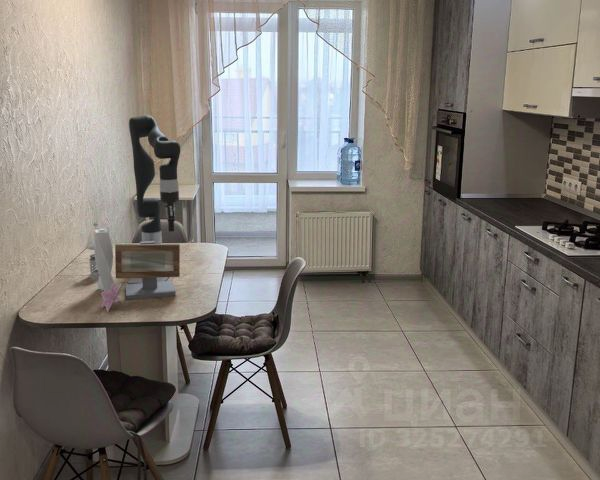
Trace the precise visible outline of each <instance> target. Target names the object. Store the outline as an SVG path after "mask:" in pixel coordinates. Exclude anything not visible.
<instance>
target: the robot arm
mask: <svg viewBox="0 0 600 480" xmlns="http://www.w3.org/2000/svg"><path fill="white" fill-rule="evenodd" d="M128 128H129V136H130V140H131V141H130V142H131V146H132V147H131V148H132V158H133V159H132V161H133V174H134V181H135V186H136V187H135V190H136V211H137V215H138V217H139V218H143V219H144V218H145V219H146V218H153V219H152V220H151V221H148V222H147V223H144V224H143V225H141V227H140V228H141V229H140V230H141V242H144V241H155V244H163V238H162V223H161V202H162V203H166V205H165V206H164V208H165V209H164V210H165V216H166V219H167V224H168V225H167V226H168V232H169V233H170V232H174V231H175V218H176V205H175V204H174V203H177V202H179V201H180V192H179V190H180V188H179V181H178V165H179V159H180V156H181V145H180V143H179V142H178V141H176V140H169V139H168V137H167V136H166V135H165V134H164V133H163V132H162V131H161V129H160V127H159V124H158V123H157V121H156V120H155V118H154V117H153V116H151V115H147V114H146V115H139V116H133V117H131V118H129V121H128ZM141 138H147V141H148V143H149V146H151V147H152V148H153V152H154V153H153V154H154V156H155V158H157V159H161V160H162V159H163V160H164V159H165V160H166V159H170V160H169V161H168V162H167V163H164V164H161V165H160V166H159V169H158V170H159V196H160V199H159V198H157V197H145V193H146V192H147V189H148V188H149V186H151V184H152V182H153V180H154V178H155V175H156V170H155V169H156V166H155V161H154V159H153V158H152V156H151V155H150V154H149V153H148V152H147V151H146V150H145V148H144V147H143V145H142V143H141V142H140V139H141ZM144 197H145V198H144Z"/></svg>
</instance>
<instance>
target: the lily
mask: <svg viewBox="0 0 600 480" xmlns="http://www.w3.org/2000/svg"><path fill="white" fill-rule="evenodd" d="M114 285H115V282H114V283H113V284H112V286H111V288H110V290H105V291H103V290H102V291H101V293H100V295H101V297H102V298H103V300H104V301H103V302H102V304H101V307H100V308H101V309H102V308H104V307H105V311H106V313H109V311H110V308H111V307H112V304H113V303H116V302H118V303H119V304H120V305H121V306H123V305H122V303H121V301H120V297H119V295H118V294H117V293H118V292H119V290H120V288H121V286H122V283H119V284H117V285H115V286H114Z"/></svg>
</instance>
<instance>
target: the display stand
mask: <svg viewBox="0 0 600 480" xmlns="http://www.w3.org/2000/svg"><path fill="white" fill-rule="evenodd" d="M139 244H155V241H144V242H142V241H139ZM169 296H170V297H171V296H176V288H175V284H174V281H173V280H167V281H164V282H157V278H142V283H139V284H127V283H126V284H125V299H126V300H135V299H136V300H138V299H146V298H147V299H149V298H158V297H159V298H162V297H169Z"/></svg>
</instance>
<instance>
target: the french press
mask: <svg viewBox="0 0 600 480" xmlns="http://www.w3.org/2000/svg"><path fill="white" fill-rule="evenodd" d="M93 226H94V227H95V228H97V226H98V222H94V223H93ZM87 249H88V250H90V251H94V243H93V244H90V245H89V246H88V247H87ZM89 257H90V258H89V259H88V261H89V267H90V268H89V269H90V270H89V272H90V274H88V278H89V279H92V280H93V279H96V280H99V272H98V269H97V265H96V260H95V253H92V254H90V255H89Z"/></svg>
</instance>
